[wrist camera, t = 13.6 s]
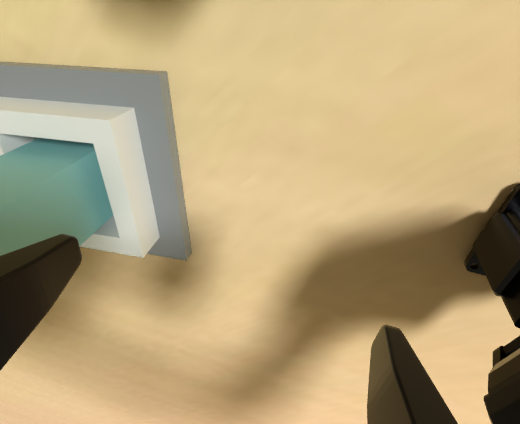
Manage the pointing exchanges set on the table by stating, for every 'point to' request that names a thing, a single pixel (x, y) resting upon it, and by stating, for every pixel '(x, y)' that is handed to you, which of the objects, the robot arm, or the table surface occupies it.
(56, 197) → the teal rectangular block
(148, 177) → the square socket base
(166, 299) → the table surface
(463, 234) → the table surface
